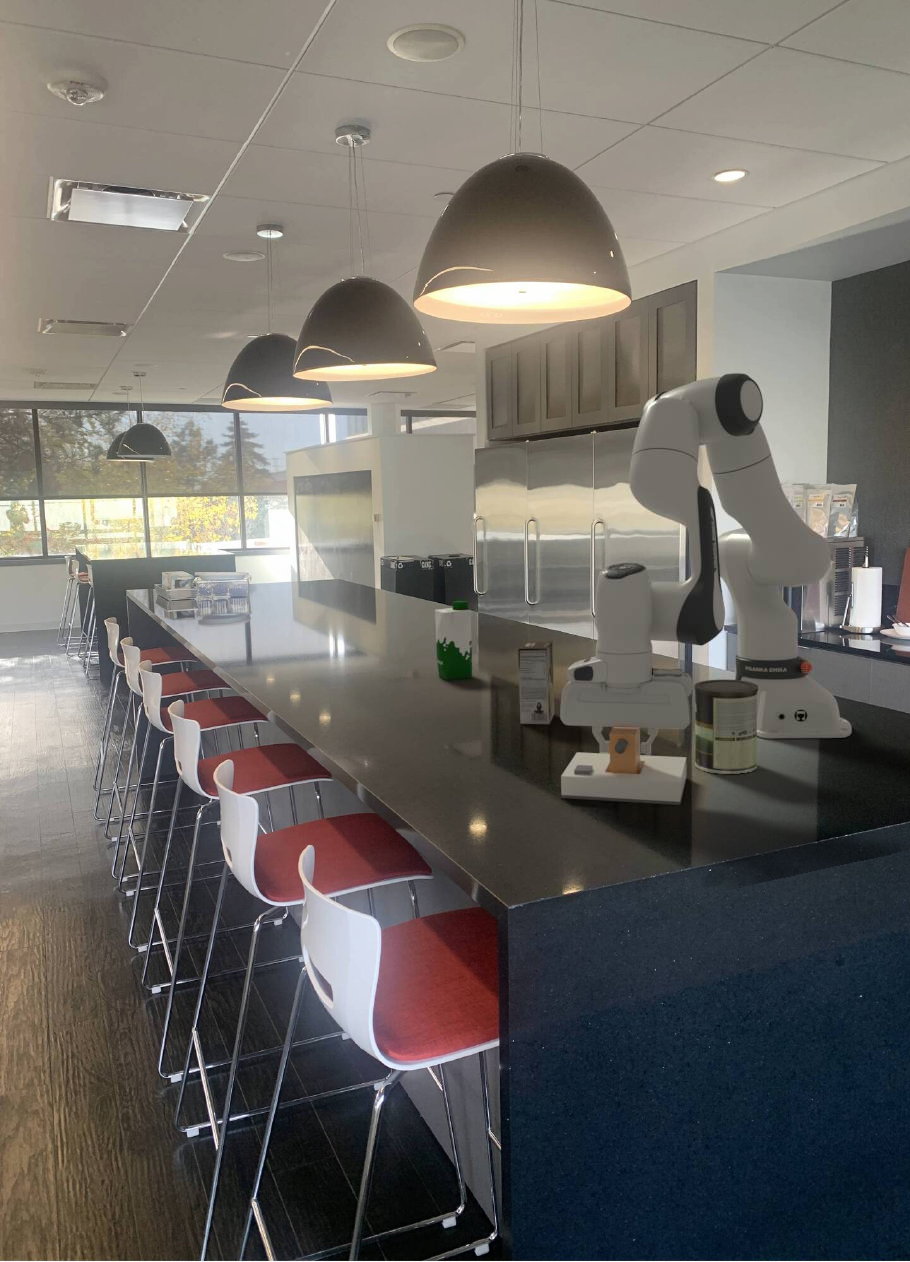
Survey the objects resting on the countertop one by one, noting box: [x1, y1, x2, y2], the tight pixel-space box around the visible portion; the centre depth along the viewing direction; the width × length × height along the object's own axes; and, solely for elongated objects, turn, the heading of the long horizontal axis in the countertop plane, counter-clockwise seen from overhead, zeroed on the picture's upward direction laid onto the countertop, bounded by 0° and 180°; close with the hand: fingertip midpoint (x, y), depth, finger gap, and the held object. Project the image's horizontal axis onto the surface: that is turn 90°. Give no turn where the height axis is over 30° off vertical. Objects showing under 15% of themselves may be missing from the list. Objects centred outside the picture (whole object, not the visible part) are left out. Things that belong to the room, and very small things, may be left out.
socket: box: [560, 751, 687, 806], centre depth 151 cm, size 18×14×4 cm
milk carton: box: [434, 600, 473, 681], centre depth 249 cm, size 9×9×20 cm
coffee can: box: [694, 679, 758, 775], centre depth 159 cm, size 10×10×14 cm
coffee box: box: [517, 640, 555, 725], centre depth 198 cm, size 9×6×16 cm
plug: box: [608, 727, 641, 774], centre depth 149 cm, size 4×9×9 cm, turn 162°
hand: (625, 753), depth 150 cm, fingers open, 5 cm apart
